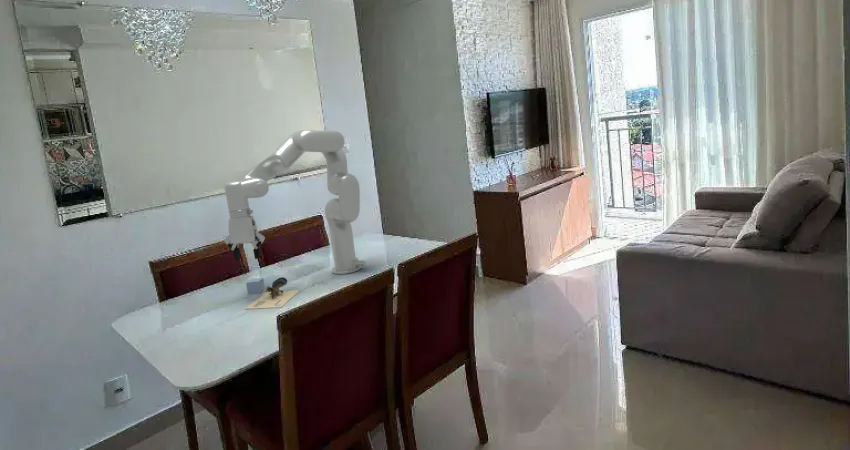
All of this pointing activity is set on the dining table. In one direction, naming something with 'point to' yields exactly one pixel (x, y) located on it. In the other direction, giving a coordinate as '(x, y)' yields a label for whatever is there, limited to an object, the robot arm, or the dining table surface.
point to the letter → (272, 300)
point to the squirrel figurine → (276, 286)
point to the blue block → (255, 286)
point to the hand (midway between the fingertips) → (247, 258)
